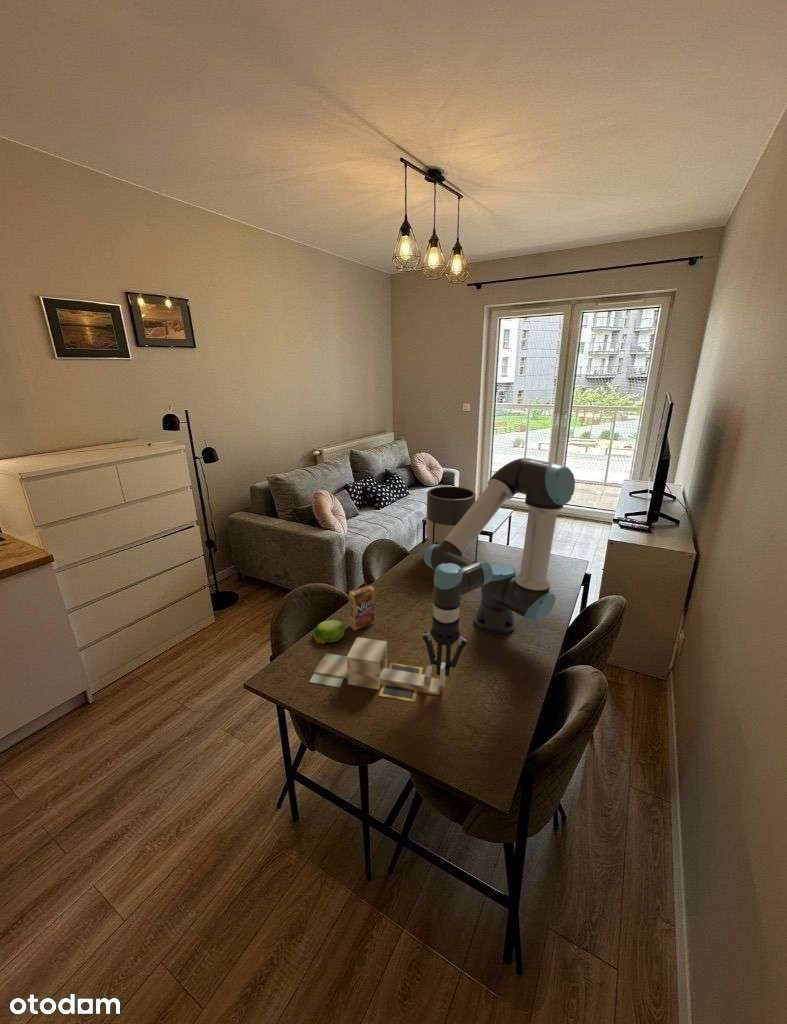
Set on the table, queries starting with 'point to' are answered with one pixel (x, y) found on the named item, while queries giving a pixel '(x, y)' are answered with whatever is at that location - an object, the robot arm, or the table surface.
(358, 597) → the candy box
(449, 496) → the planter
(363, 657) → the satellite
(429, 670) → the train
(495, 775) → the table surface
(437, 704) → the table surface
